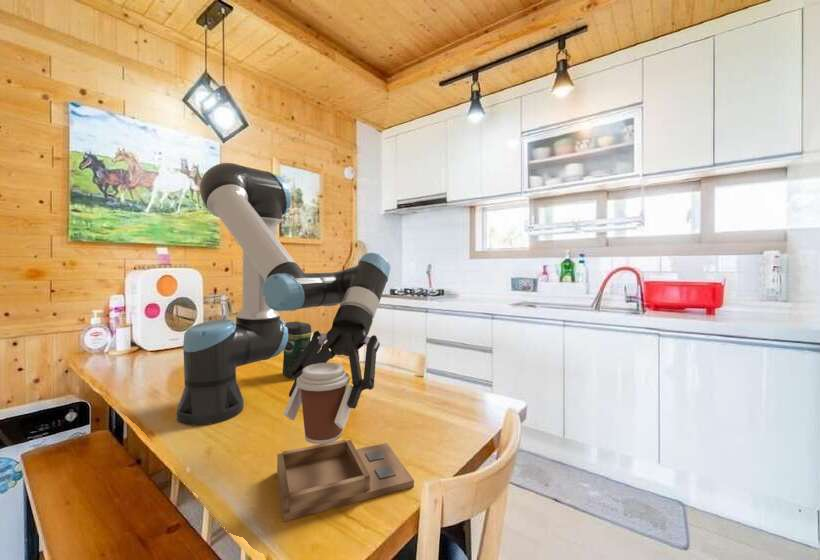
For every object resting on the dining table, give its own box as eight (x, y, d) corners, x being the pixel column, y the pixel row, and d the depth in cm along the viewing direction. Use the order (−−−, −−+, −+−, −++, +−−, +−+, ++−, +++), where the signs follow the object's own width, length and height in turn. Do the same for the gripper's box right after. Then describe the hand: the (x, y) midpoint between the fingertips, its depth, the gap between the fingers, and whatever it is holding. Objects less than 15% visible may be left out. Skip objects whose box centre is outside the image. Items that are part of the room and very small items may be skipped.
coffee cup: (302, 424, 67) (302, 361, 66) (351, 422, 68) (351, 360, 67) (291, 449, 58) (290, 377, 57) (347, 447, 59) (347, 375, 58)
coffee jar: (315, 374, 124) (315, 321, 123) (297, 381, 117) (297, 325, 116) (297, 369, 129) (296, 319, 128) (278, 375, 123) (278, 322, 121)
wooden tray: (283, 522, 54) (283, 498, 54) (277, 471, 67) (277, 452, 67) (413, 486, 63) (414, 466, 63) (386, 448, 76) (386, 431, 76)
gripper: (409, 327, 73) (379, 439, 59) (317, 321, 80) (270, 420, 66) (401, 305, 68) (365, 422, 54) (303, 300, 75) (248, 403, 60)
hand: (313, 421), depth 60 cm, fingers closed on coffee cup, 9 cm apart
